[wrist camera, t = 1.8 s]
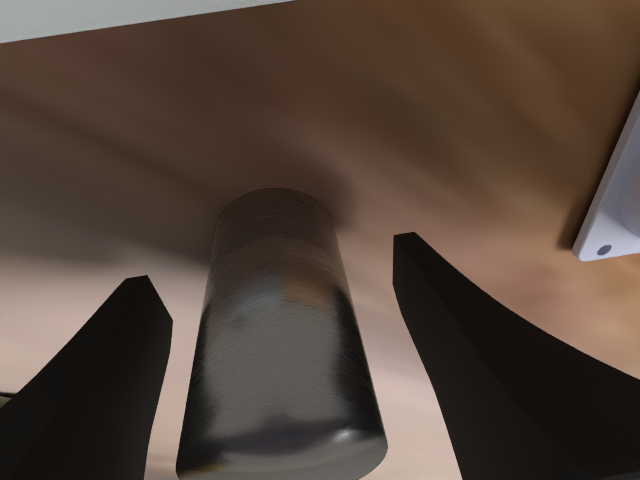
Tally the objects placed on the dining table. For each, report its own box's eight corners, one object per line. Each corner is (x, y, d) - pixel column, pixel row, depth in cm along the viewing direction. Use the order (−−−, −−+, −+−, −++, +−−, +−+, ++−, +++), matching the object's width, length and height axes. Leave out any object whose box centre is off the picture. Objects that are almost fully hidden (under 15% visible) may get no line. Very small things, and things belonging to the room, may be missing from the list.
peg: (328, 178, 11) (388, 393, 6) (338, 272, 14) (387, 483, 8) (198, 199, 11) (138, 437, 6) (232, 289, 14) (212, 514, 8)
